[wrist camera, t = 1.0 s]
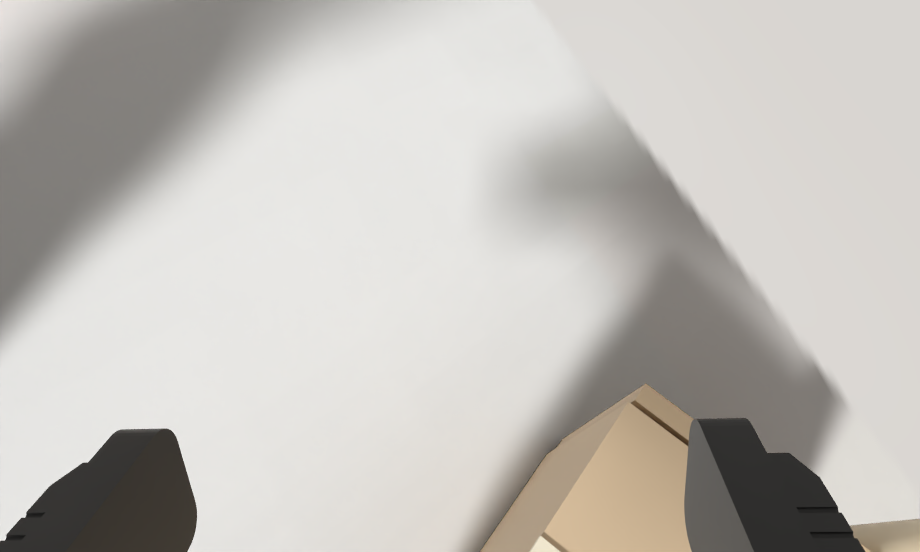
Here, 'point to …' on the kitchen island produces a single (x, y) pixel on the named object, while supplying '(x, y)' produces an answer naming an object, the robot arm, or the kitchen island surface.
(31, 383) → the kitchen island surface
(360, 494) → the kitchen island surface
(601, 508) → the brown carton
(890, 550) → the beige l-shaped piece
